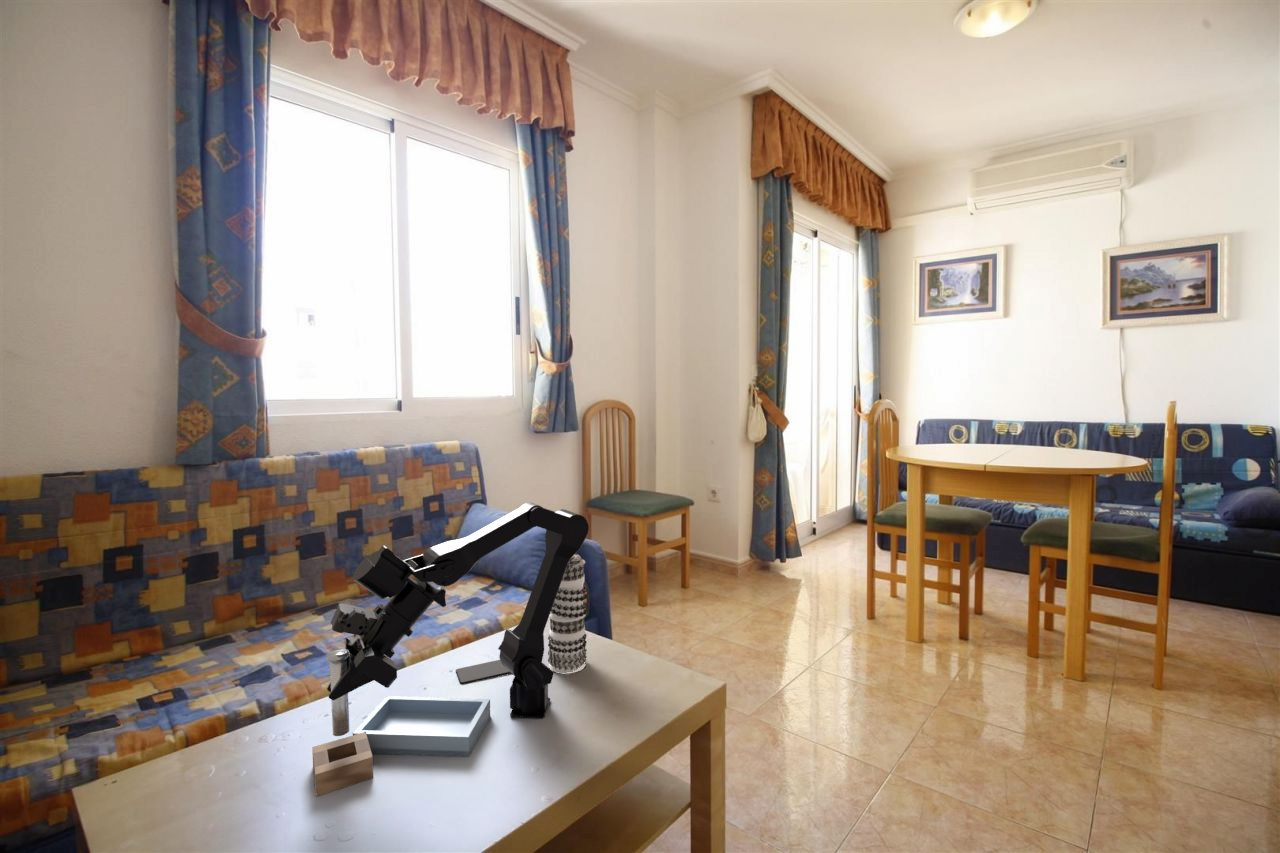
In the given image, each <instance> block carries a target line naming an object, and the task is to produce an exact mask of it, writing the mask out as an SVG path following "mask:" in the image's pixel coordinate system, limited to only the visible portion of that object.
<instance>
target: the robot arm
mask: <svg viewBox="0 0 1280 853" xmlns="http://www.w3.org/2000/svg"><path fill="white" fill-rule="evenodd" d="M535 527H538V528H541V529H544V530H545V535H544V539H545V540H544V541H545V554H544V556H543V559H542V562H541V565H540V568H539V570H538V572H537V576H536V579H535V581H534V585H533V586H532V590H531V592H530V595H529V597H528V600H527V603H526V606H525V609H524V612H523V614H522V616H521V620H520V621H519V624H518V625H517V626H515V628H513V630H511V629H509V628H507V629H505V632H504V634H503V639H502V641H501V644H500V645H499V646H498V648H497V649H498V650H499V651H500V652H499V660H500V661H501V663H502V665H504V666H505V667H506V668H507V669H508V670H509V671H510V673H511V674H510V675H513V676H514V677H513V680H512V684H511V686H510V687H509V708H510V709H511V711H510V713H509V716H510V717H511V718H524V719H525V718H526V719H527V718H529V719H532V718H533V719H534V718H535V719H544V717H545V715H546V714H547V711H548V708H549V706H548V705H550V702H551V698H550V697H549V685H550V684H552V680H553V678H554V674H555V673H554V672H553V671H552V670H550V669H549V666H547V665H546V664H545V663H543V659H544V653H545V638H544V636H545V635H544V634H545V633H544V632H545V628H546V627H547V624H548V620H549V619H550V618H549V615H550V612H551V609H552V607H553V604H554V601H555V598H556V595H557V593H558V590H559V587H560V584H561V581H562V579H563V576H564V573H565V570H566V567H567V565H568V562H569V560H570V559H571V558H572V557H573V556H574V555H575V554H577V553H578V552H579V551H580V549H581V548H582V546H583V544H584V542H585V540H586V539H587V537H588V534H589V530H590V525H589V523H588V520H587V518H585V516H584V515H581V514H579V513H575V512H573V511H571V510H567V509H563V508H562V509H557V511H553V510H551V509H547V508H546V507H545V508H544V507H542V506H541V505H539V504H536V503H535V502H534V503H533V502H525V503H523V504H522V505H520V507H519V508H516V509H514V510H513V511H511V512H509V513H507V514H506V515H504V516H502V517H500V518H498V519H496V520H495V521H493V522H491V523H490V524H488V525H486V526H484V527H482V528H480V529H479V530H477V531H475V532H473V533H471V534H469V535H467V536H465V537H461V538H458V539H451V540H447V541H445V542H442V543H439V544H436V545H433V546H432V547H431V546H430V547H429V548H428V549H427V550H425V551H424V553H422V554H419V555H415V556H413V557H409V558H407V559H401V558H400V557H399V556H397V555H396V554H395V553H394V552H393V551H392V549H390V548H389V547H388V546H386V545H382V546H381V547H380V548H379V549H378V550H376V551H375V552H372V553H371V554H370V555H368V556H367V557H365V558H363V559H362V560H361V562H360V563H359V564H358V566H357V567H356V569H355V571H354V573H353V575H352V580H353V581H354V582H356V583H358V584H359V585H360V586H362V587H363V588H364V589H366V590H367V591H369V592H371V593H372V594H373V595H375V596H376V597H377V598H379V599H381V600H383V599H386V598H390V600H388V601H387V603H386V604H385V605H383V604H382V603H381V604H378V605H377V606H376V607H375V608H374V609H373V610H371V609H366V608H364V607H361V606H360V607H359V606H355V605H351V604H347V603H344V602H343V603H338V605H337V608H336V609H335V611H334V614H333V616H332V619H330V620H331V621H330V625H331V630H332V631H334V632H335V633H339V634H343V633H344V634H345V633H346V634H351V635H352V636H351V638H350V639H348V638H346V637H345V638H344V640H343V641H344V649H347V650H349V654H348V656H349V657H348V658H347V669H346V670H345V672H344V673H343V675H342V676H341V678H340V679H339V681H338V682H337V683H336V685H335V686H334V688H333V689H332V691H331V681H330V682H329V684H328V685H327V687H326V691H328V692H329V694H328V696H327V697H328V699H329V700H330V701H331V700H336V699H338V698H340V697H341V696H343V695H345V694H347V693H348V694H349V693H351V692H352V691H354V690H357V689H358V688H360V687H363V686H364V685H367V684H369V683H371V682H373V681H375V682H376V683H378V684H380V685H381V686H382V687H384V688H386V689H388V688H390V686H392V684H393V683H394V682H395V681H396V679H398V669H397V667H396V664H395V662H394V660H393V659H391V658H392V657H394V655H395V654H396V653H395V650H394V648H395V647H396V646H397V645H398V644H399V643H400V641H401V640H402V639H403V638H404V637H405V636H406V637H407V638H410V636H411V635H412V634H413V632H414V631H413V629H412V628H413V626H414V625H415V624H416V623H417V622H418V621H419V619H420V618H421V617H422V616H423V614H424V613H425V612H426V611H427V610H428V609H429V608H430V606H431V605H433V603H434V602H435V603H437V605H439V606H441V607H442V608H445V607H446V606H447V602H446V592H447V591H446V590H445V587H450V586H452V585H454V584H455V583H457V582H458V581H459V580H461V579H462V578H463V577H464V576H466V575H467V574H468V573H469V572H471V570H472V568H473V567H474V566H475V565H476V563H477V562H478V561H480V560H481V559H482V558H483V557H485V556H487V555H488V554H491V553H492V552H494V551H496V550H497V549H499V548H501V547H503V546H504V545H506V544H508V543H509V542H511V541H512V540H514V539H517V538H518V537H520V536H521V535H523V534H525V533H526V532H529V531H530V530H532V529H534V528H535ZM411 575H412V576H413V577H414V578H416V580H415V579H413V577H411ZM417 580H418V581H417ZM431 582H432V583H434V584H435V585H437V586H439V587H435V586H433V585H432V584H431ZM546 710H547V711H546Z"/></svg>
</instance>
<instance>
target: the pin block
mask: <svg viewBox="0 0 1280 853" xmlns="http://www.w3.org/2000/svg"><path fill="white" fill-rule="evenodd" d="M311 751H312V769H313V770H312V771H313V780H314V787H315V796H316V797H319V796H321V795H325V794H329V793H332V792H334V791H336V790H337V791H338V790H340V789H344V788H346V787H349V786H350V787H351V786H352V785H356V784H360V783H361V782H362V783H363V782H365V781H368V780H371V779H374V764H373V763H374V762H373V759H374V758H373V754H372V753H371V749H370V746H369V742H368V738H367V735H366V734H365V732H364V734H363V733H362V734H361V733H360V734H356V735H353V734H352V735H351V736H347V737H343V738H340V739H336V740H331V741H329V742H325V743H321V744H317V745H314V746H312V750H311Z"/></svg>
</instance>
